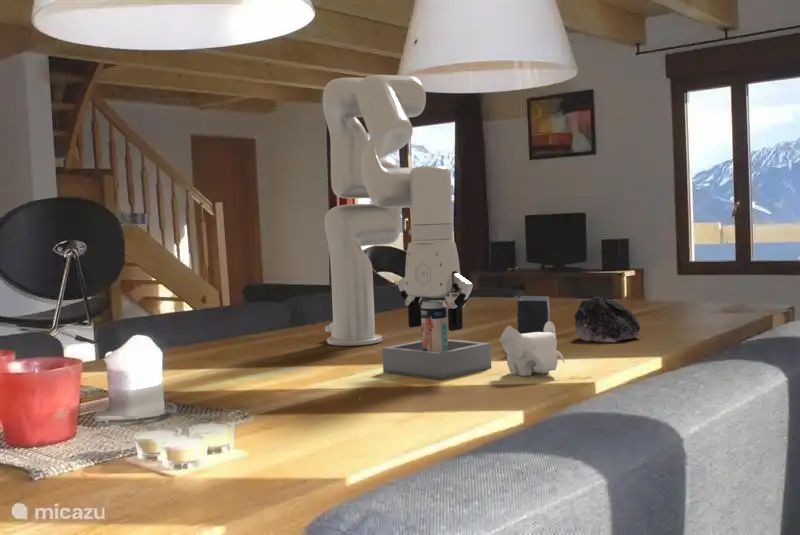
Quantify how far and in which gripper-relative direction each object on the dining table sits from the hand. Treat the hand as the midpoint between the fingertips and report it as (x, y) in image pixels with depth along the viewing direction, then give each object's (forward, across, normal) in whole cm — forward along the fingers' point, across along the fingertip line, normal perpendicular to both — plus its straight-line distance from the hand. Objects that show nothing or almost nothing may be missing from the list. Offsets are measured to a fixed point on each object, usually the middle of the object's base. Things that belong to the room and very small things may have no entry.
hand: (435, 328), depth 158 cm
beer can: (+7, 0, 0) cm, 7 cm away
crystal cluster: (+8, +6, +50) cm, 51 cm away
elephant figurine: (+8, +18, +5) cm, 20 cm away
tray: (+8, 0, 0) cm, 8 cm away
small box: (+8, 0, +31) cm, 32 cm away
